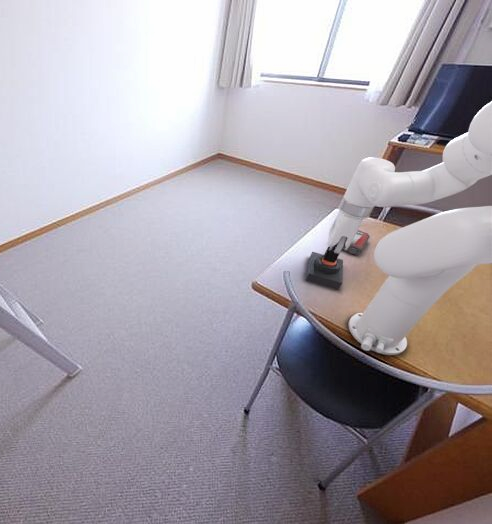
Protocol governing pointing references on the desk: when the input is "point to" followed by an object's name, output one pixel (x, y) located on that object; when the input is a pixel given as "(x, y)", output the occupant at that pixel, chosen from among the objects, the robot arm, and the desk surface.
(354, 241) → the walkie-talkie
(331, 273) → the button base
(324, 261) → the pump button
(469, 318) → the desk surface
